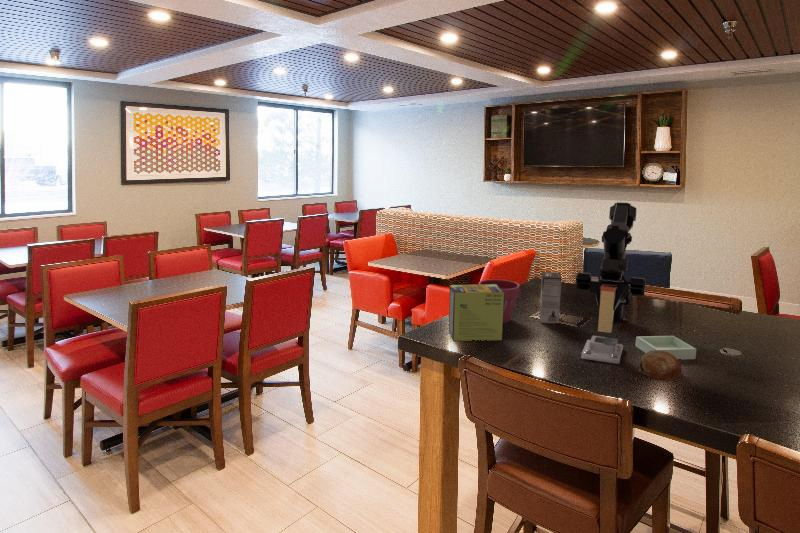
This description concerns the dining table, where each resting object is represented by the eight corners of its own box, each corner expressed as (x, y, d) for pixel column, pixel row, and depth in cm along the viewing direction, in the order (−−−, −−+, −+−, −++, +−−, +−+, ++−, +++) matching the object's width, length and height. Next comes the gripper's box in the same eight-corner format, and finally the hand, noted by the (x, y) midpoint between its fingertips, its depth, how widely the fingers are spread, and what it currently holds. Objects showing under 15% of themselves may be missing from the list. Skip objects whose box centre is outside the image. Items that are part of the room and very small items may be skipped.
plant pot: (523, 325, 186) (525, 288, 183) (482, 326, 184) (484, 288, 182) (511, 313, 200) (512, 278, 197) (473, 314, 198) (474, 279, 196)
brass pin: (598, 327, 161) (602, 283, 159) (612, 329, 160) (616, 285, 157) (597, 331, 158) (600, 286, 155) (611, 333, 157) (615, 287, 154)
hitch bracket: (587, 344, 167) (587, 333, 166) (622, 349, 163) (623, 338, 162) (581, 358, 155) (582, 346, 155) (619, 364, 151) (620, 352, 150)
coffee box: (538, 315, 197) (541, 271, 194) (557, 316, 196) (560, 272, 192) (540, 322, 188) (542, 276, 185) (559, 324, 187) (562, 277, 184)
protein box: (502, 340, 170) (504, 291, 167) (453, 341, 169) (454, 292, 166) (494, 330, 180) (496, 283, 177) (448, 330, 179) (449, 284, 176)
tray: (635, 346, 166) (636, 336, 165) (672, 345, 166) (673, 335, 166) (655, 360, 154) (656, 349, 154) (695, 359, 155) (696, 349, 155)
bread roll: (637, 379, 151) (627, 354, 149) (671, 362, 150) (661, 337, 149) (656, 394, 141) (646, 368, 139) (693, 377, 141) (683, 350, 139)
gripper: (578, 245, 162) (570, 290, 154) (648, 250, 154) (643, 297, 146) (580, 266, 170) (573, 310, 163) (646, 272, 162) (641, 318, 155)
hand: (606, 308), depth 156 cm, fingers closed on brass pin, 4 cm apart
